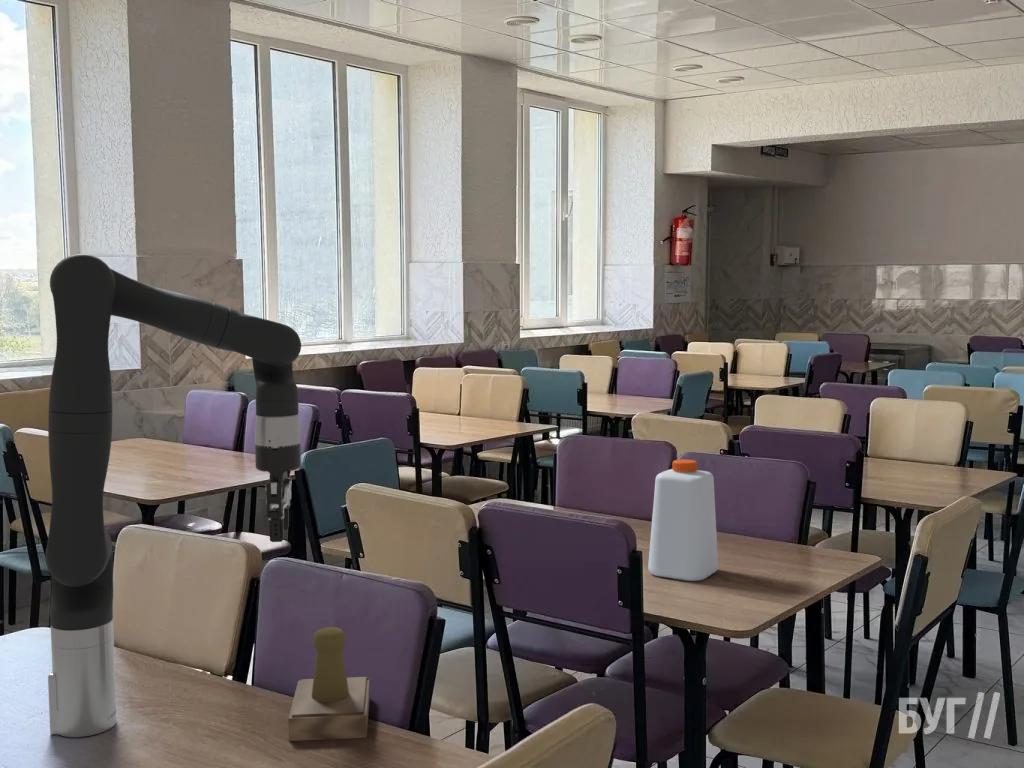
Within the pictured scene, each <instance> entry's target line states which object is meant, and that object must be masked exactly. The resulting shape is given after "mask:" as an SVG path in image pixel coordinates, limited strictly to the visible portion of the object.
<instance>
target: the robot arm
mask: <svg viewBox="0 0 1024 768" xmlns="http://www.w3.org/2000/svg"><path fill="white" fill-rule="evenodd" d="M49 288H50V292H51V294H52V299H53V308H54V316H55V318H54V319H55V331H56V349H55V355H54V356H55V358H54V362H53V368H52V372H51V378H50V379H51V380H50V386H49V396H48V397H49V399H48V415H47V416H48V417H47V418H48V426H47V431H48V434H47V435H48V436H47V438H48V456H49V458H48V459H49V473H50V481H51V482H50V483H51V512H50V520H49V521H50V522H49V528H48V529H49V530H48V536H47V537H48V538H47V542H46V549H45V554H44V555H45V565H46V567H47V569H48V572H49V573H50V576H51V578H50V579H51V593H50V606H49V607H50V608H49V619H50V620H49V623H50V645H51V669H52V671H51V672H50V673H49V674H48V676H47V686H48V687H47V688H48V710H49V711H48V713H49V734H50V735H59V736H62V737H67V738H83V737H89V736H94V735H98V734H101V733H103V732H107V731H108V730H110V729H112V728H113V727H114V726H115V725H116V723H117V702H116V701H117V700H116V697H117V695H116V671H115V665H116V664H115V639H114V613H113V612H114V610H113V609H114V572H113V571H114V565H113V563H114V562H113V559H114V558H113V542H112V539H111V536H110V534H109V532H108V530H107V529H106V528H105V522H104V521H105V519H104V492H105V491H104V490H105V483H106V480H107V479H106V478H107V473H108V468H109V462H110V456H111V447H112V437H113V388H112V387H113V386H112V376H111V365H110V356H109V335H110V327H111V326H110V325H111V317H112V316H114V317H117V318H123V319H128V320H131V321H135V322H137V323H142V324H145V325H148V326H151V327H154V328H156V329H159V330H162V331H164V332H168V333H169V334H172V335H175V336H177V337H181V338H183V339H186V340H189V341H191V342H196V343H198V344H202V345H205V346H209V347H211V348H216V349H219V350H223V351H228V352H234V353H237V354H240V355H242V356H245V357H249V358H251V362H252V367H253V368H252V369H253V374H254V375H253V376H254V381H255V415H256V416H255V424H254V441H255V442H254V447H255V448H254V449H255V450H254V455H255V457H254V458H255V461H254V463H255V468H256V470H258V471H259V472H268V473H269V478H267V481H265V491H266V492H265V493H266V494H265V495H266V498H265V505H266V513H265V517H266V519H268V520H269V525H268V526H269V541H270V542H272V543H282V542H283V541H284V533H285V531H287V530H289V528H290V511H289V510H290V506H291V500H292V485H293V482H292V478H291V473H292V471H296V470H298V469H300V468H301V467H302V466H301V465H302V457H301V456H302V453H301V450H302V449H301V448H302V447H301V424H300V417H299V391H298V385H297V383H296V382H295V380H294V375H293V374H294V372H293V370H294V369H293V363H294V361H296V359H298V357H299V355H300V354H301V351H302V342H301V341H302V340H301V338H300V335H299V334H298V332H297V331H296V330H295V329H294V328H293V327H291V326H289V325H286V324H284V323H281V322H276V321H275V320H269V319H266V318H262V317H257V316H254V315H250V314H247V313H244V312H242V311H239V310H237V309H234V308H232V307H228V306H225V305H223V304H219V303H217V302H213V301H210V300H207V299H204V298H200V297H196V296H193V295H189V294H183V293H180V292H177V291H172V290H168V289H164V288H161V287H156V286H153V285H151V284H147V283H144V282H142V281H139V280H136V279H133V278H131V277H129V276H126V275H124V274H122V273H120V272H118V271H116V270H114V269H112V268H110V266H108V264H107V263H106V262H105V261H103V260H102V259H101V258H99V257H98V256H95V255H92V254H87V253H76V254H72V255H69V256H66V257H65V258H63V259H61V260H60V261H59V262H58V263H57V264H56V265H55V266H54V267H53V270H52V272H51V274H50V277H49ZM273 509H275V510H273Z"/></svg>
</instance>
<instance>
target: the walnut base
mask: <svg viewBox="0 0 1024 768" xmlns="http://www.w3.org/2000/svg"><path fill="white" fill-rule="evenodd" d="M366 678H367V676H356V677H355V676H353V677H347V684H348V691H349V695H348V697H347V698H345V699H343V700H340V701H335V702H319V701H316V700H314V699H313V698H312V697H311V696H312V688H313V679H314V678H301V679H300V680H297V683H296V684H297V685H296V689H295V691H294V696H293V700H292V704H291V706H290V707H291V708H290V712H289V715H288V741H289V742H297V741H298V742H299V741H318V740H319V741H321V740H344V739H345V740H346V739H347V740H348V739H366V738H367V736H368V725H369V711H370V700H369V687H370V679H369V680H366Z"/></svg>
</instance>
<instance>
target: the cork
mask: <svg viewBox="0 0 1024 768" xmlns="http://www.w3.org/2000/svg"><path fill="white" fill-rule="evenodd" d="M346 639H347V638H346V634H345V632H344V631H343V629H341V628H340V627H335V626H334V627H332V626H328V627H323V628H320V629H317V630H316V631H315V632H314V635H313V638H312V645H313V647H314V649H316V654H315V655H316V656H315V661H314V662H315V664H314V671H313V678H312V679H313V688H312V696H311V697H312V698H313V699H314V700H316V701H319V702H335V701H340V700H343V699H345V698H347V697H348V695H349V691H348V684H347V678H348V677H347V671H346V666H345V664H346V663H345V657H344V653H343V649H344V647H345V644H346Z"/></svg>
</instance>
